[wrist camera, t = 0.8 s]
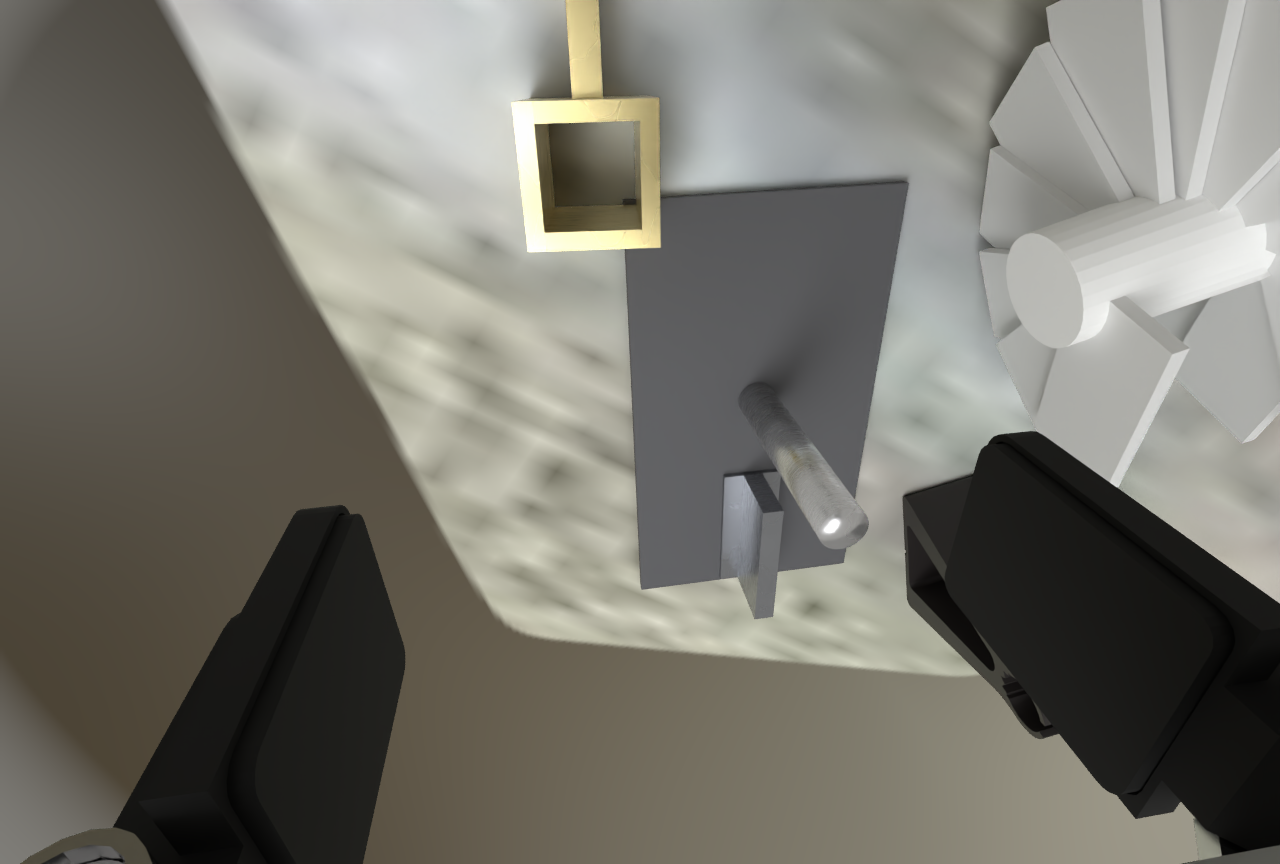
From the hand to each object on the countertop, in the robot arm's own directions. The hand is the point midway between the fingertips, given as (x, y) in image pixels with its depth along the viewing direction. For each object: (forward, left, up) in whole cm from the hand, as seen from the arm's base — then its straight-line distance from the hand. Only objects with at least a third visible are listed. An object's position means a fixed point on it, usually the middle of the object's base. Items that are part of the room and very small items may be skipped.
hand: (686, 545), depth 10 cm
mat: (+9, +7, -19) cm, 22 cm away
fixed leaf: (+13, +7, -19) cm, 24 cm away
